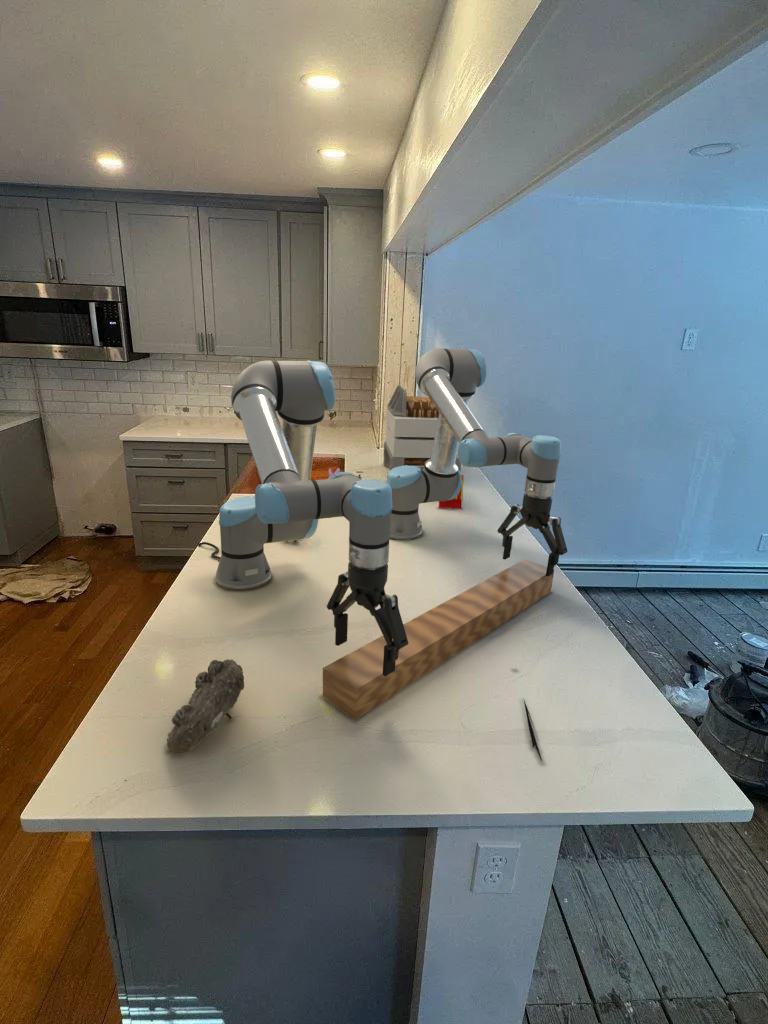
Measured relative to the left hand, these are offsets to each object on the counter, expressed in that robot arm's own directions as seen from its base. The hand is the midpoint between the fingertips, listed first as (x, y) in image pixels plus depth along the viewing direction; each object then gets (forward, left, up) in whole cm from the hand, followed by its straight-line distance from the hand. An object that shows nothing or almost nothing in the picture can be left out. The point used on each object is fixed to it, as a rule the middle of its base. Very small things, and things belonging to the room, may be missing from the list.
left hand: (364, 657), depth 114 cm
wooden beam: (-3, +32, -9) cm, 33 cm away
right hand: (-7, +64, 0) cm, 64 cm away
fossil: (-12, -27, -9) cm, 31 cm away
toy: (-79, +108, -9) cm, 134 cm away
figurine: (-97, +64, -9) cm, 117 cm away
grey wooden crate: (-113, +126, -9) cm, 169 cm away
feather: (+25, +22, -9) cm, 34 cm away
